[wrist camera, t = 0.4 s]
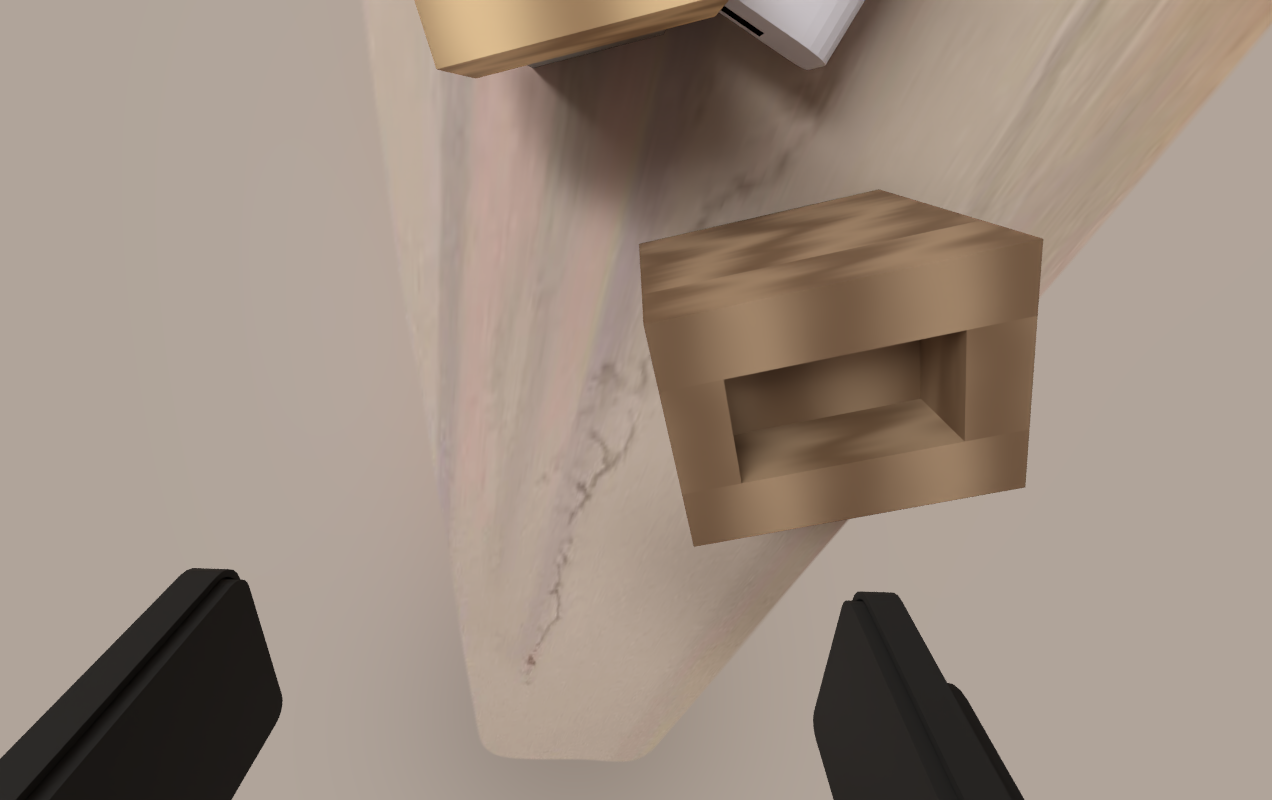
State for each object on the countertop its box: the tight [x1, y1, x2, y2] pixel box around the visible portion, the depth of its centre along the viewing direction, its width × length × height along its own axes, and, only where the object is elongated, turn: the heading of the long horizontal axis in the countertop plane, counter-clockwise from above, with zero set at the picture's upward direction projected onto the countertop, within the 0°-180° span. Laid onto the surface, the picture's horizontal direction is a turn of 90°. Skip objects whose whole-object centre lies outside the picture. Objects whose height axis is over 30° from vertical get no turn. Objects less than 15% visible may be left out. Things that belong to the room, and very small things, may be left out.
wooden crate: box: [639, 190, 1043, 547], centre depth 30 cm, size 14×10×15 cm
